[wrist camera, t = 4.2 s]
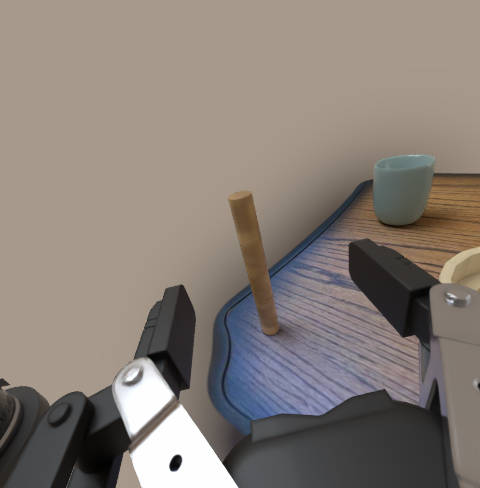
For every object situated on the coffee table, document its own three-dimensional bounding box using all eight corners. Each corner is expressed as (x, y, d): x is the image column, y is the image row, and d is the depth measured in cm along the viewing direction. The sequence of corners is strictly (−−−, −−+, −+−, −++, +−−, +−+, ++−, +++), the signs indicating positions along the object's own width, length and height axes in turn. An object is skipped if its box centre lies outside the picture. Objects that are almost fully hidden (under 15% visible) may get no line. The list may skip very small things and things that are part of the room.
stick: (268, 338, 25) (233, 201, 18) (259, 326, 27) (224, 196, 19) (283, 329, 26) (255, 192, 18) (273, 318, 27) (244, 188, 20)
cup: (426, 232, 35) (438, 166, 30) (368, 229, 39) (370, 170, 35) (424, 211, 40) (435, 151, 36) (373, 210, 45) (377, 157, 40)
